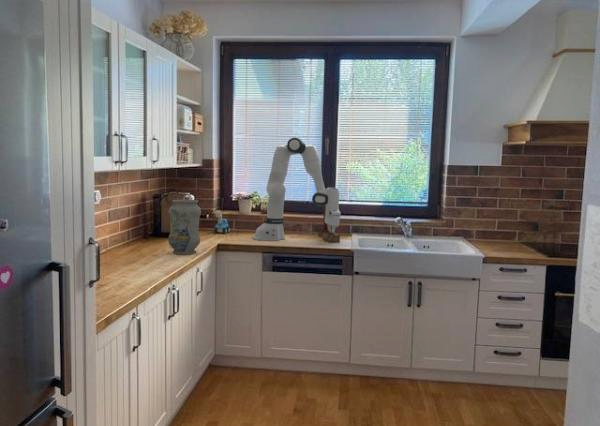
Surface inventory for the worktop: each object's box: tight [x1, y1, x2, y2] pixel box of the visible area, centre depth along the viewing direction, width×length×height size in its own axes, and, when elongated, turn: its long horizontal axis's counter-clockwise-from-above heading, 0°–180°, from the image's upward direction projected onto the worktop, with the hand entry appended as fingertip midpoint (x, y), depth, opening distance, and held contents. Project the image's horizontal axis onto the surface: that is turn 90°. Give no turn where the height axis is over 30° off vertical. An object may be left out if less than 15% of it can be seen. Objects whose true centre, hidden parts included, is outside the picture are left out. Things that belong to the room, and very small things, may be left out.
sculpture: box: [317, 205, 329, 238], centre depth 355 cm, size 13×9×30 cm
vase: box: [167, 199, 202, 256], centre depth 279 cm, size 18×18×30 cm
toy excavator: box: [214, 209, 231, 234], centre depth 356 cm, size 9×17×17 cm, turn 167°
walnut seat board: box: [321, 232, 341, 243], centre depth 337 cm, size 9×10×5 cm
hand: (331, 231), depth 337 cm, fingers open, 6 cm apart
